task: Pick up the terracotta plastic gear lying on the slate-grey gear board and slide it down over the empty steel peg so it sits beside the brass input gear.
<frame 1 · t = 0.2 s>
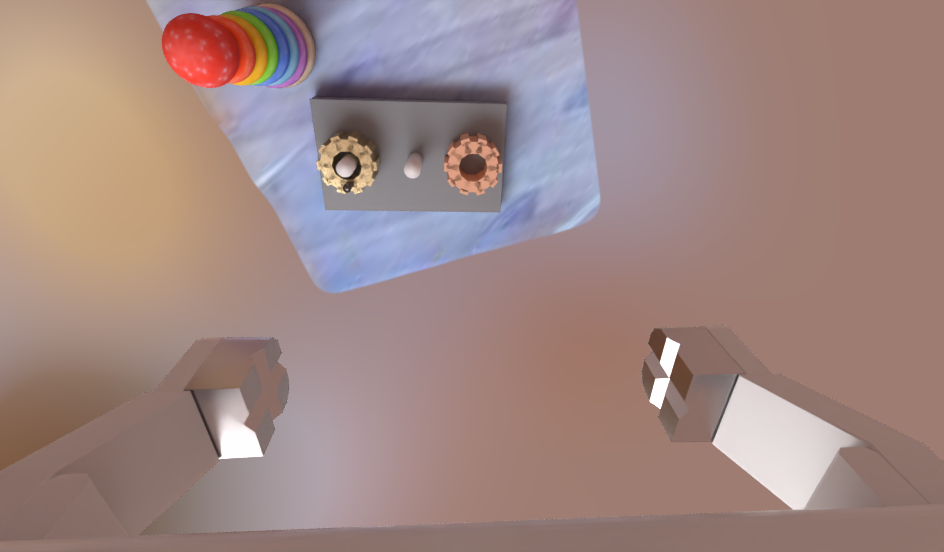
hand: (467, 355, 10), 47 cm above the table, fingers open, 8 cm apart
loose gear: (472, 160, 53), point 2 cm above the table, touching gear board
stacking toy: (280, 46, 48), on the table
gear board: (413, 155, 54), on the table
input gear: (348, 163, 50), point 4 cm above the table, hinge at 0.0°
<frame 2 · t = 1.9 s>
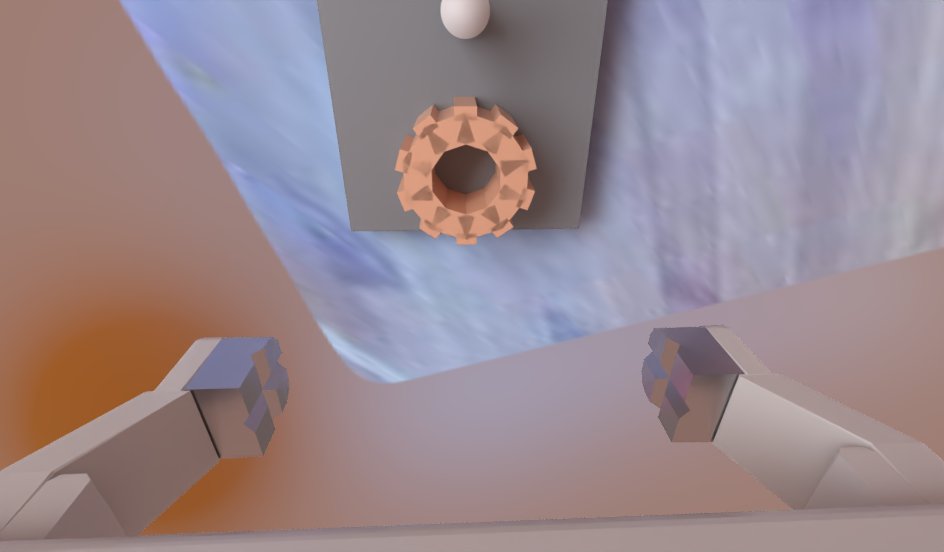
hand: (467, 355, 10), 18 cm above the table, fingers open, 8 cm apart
loose gear: (465, 163, 23), point 2 cm above the table, touching gear board
gear board: (463, 5, 21), on the table
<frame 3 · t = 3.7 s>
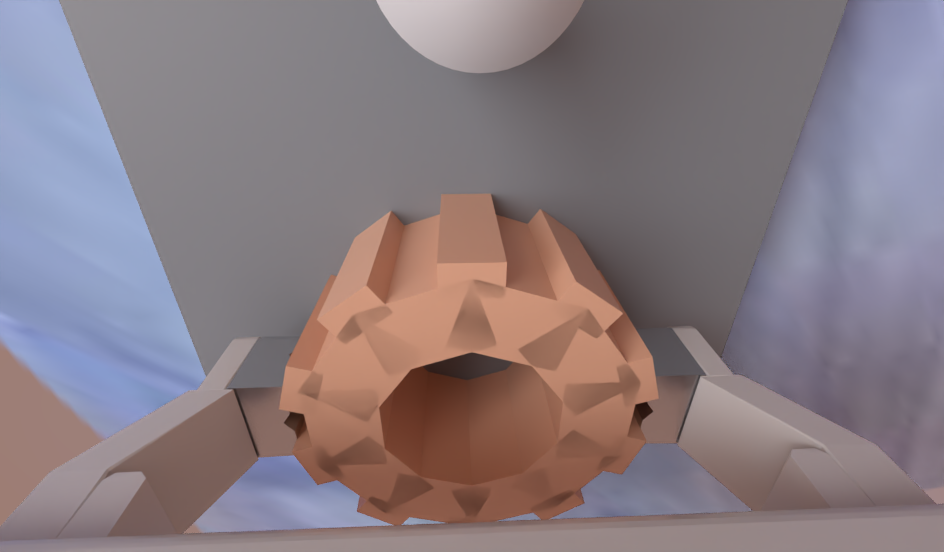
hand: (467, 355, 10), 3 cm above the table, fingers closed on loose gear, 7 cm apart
loose gear: (466, 326, 10), point 2 cm above the table, touching gear board, gripper
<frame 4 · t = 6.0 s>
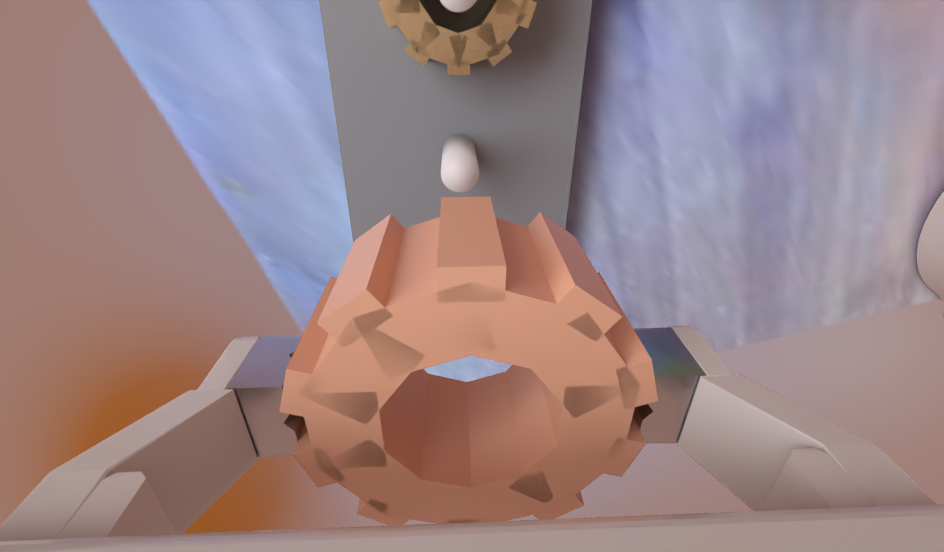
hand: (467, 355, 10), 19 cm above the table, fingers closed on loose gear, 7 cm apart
loose gear: (466, 329, 11), point 18 cm above the table, touching gripper
gear board: (458, 135, 26), on the table
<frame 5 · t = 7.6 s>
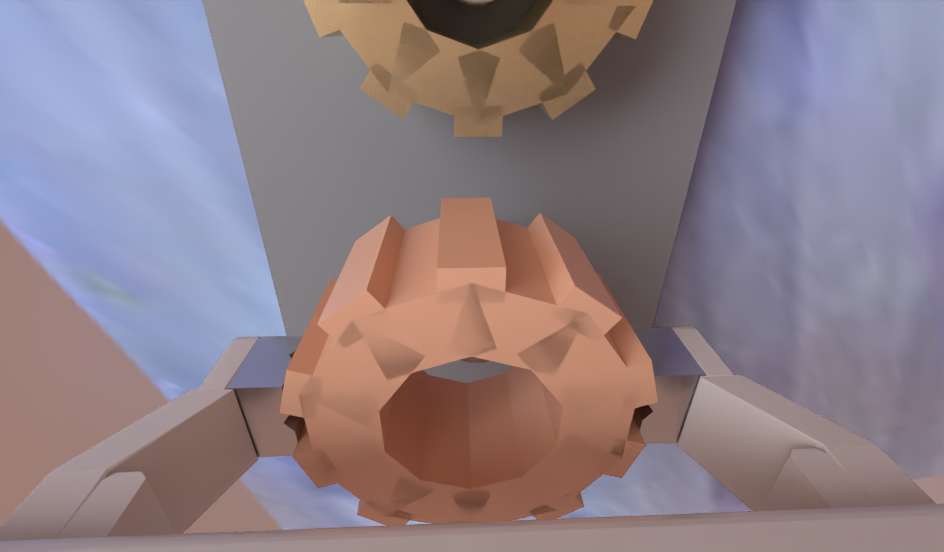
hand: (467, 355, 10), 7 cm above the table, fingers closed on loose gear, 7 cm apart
loose gear: (466, 330, 11), point 6 cm above the table, touching gripper
gear board: (470, 212, 16), on the table
when the fingers open (4 cm above the table, at t = 8.6 s): loose gear drops 1 cm, resting on gear board.
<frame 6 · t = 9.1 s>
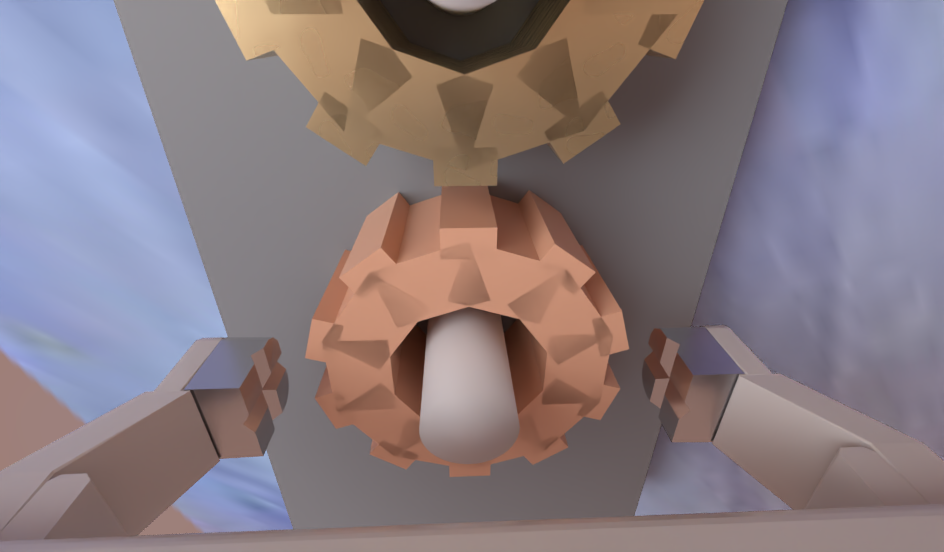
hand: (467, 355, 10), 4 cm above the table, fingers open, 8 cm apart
loose gear: (465, 297, 12), point 2 cm above the table, touching gear board
gear board: (461, 250, 13), on the table
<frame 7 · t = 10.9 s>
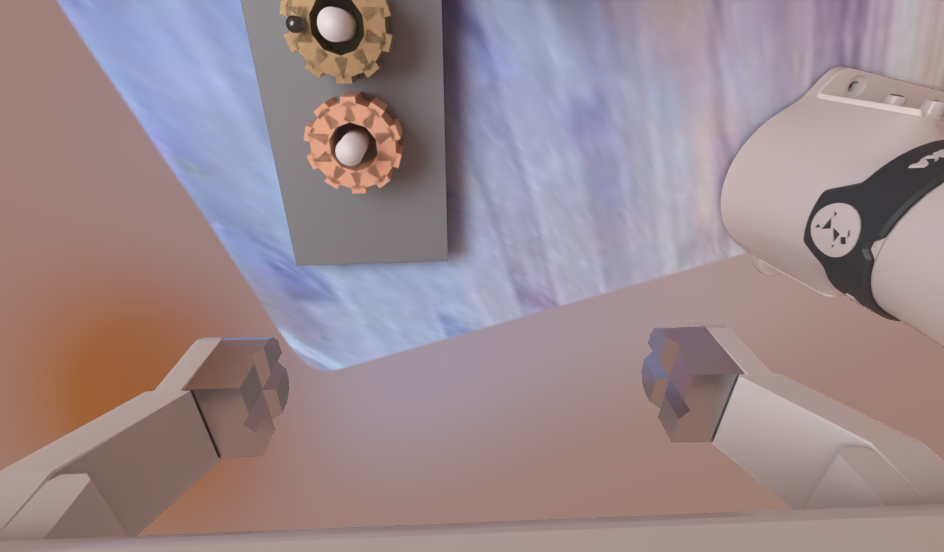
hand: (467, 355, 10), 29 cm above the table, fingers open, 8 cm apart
loose gear: (359, 138, 33), point 2 cm above the table, touching gear board
gear board: (361, 127, 35), on the table
input gear: (339, 25, 28), point 4 cm above the table, hinge at 0.0°
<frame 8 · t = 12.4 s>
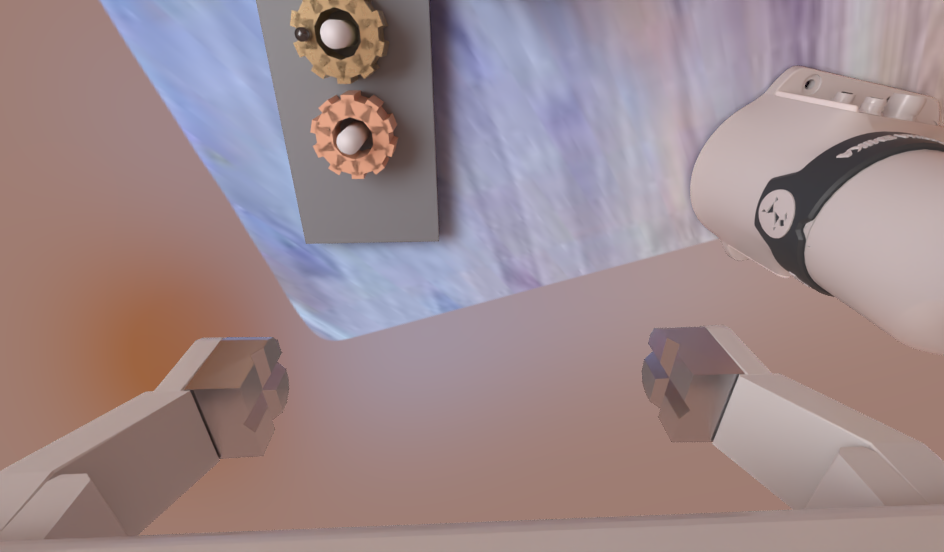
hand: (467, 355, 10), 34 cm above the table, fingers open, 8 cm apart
loose gear: (359, 131, 38), point 2 cm above the table, touching gear board
gear board: (362, 122, 40), on the table
input gear: (340, 34, 32), point 4 cm above the table, hinge at 0.0°
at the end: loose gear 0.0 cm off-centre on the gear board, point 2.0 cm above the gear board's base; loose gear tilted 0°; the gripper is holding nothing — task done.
